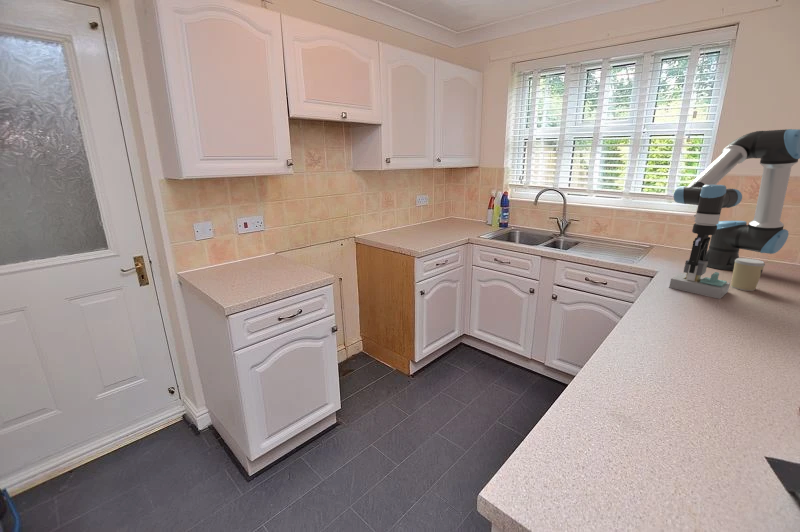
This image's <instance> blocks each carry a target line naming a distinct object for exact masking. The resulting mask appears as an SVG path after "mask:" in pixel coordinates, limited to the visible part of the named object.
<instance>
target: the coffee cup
mask: <svg viewBox="0 0 800 532" xmlns="http://www.w3.org/2000/svg"><path fill="white" fill-rule="evenodd" d="M765 266H766V263H765V261H763V260H760V259H755V258H750V257H749V258H747V257H739V258H737V259H736V260H735V264H734V269H733V270H732V277H731V282H730V287H731V288H733V289H737V290H740V291H745V292H746V291H749V292H750V291H751V292H753V291H756V288H757V286H758V283H759V281H760V278H761V275H762V273H763V270H764V267H765Z"/></svg>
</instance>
